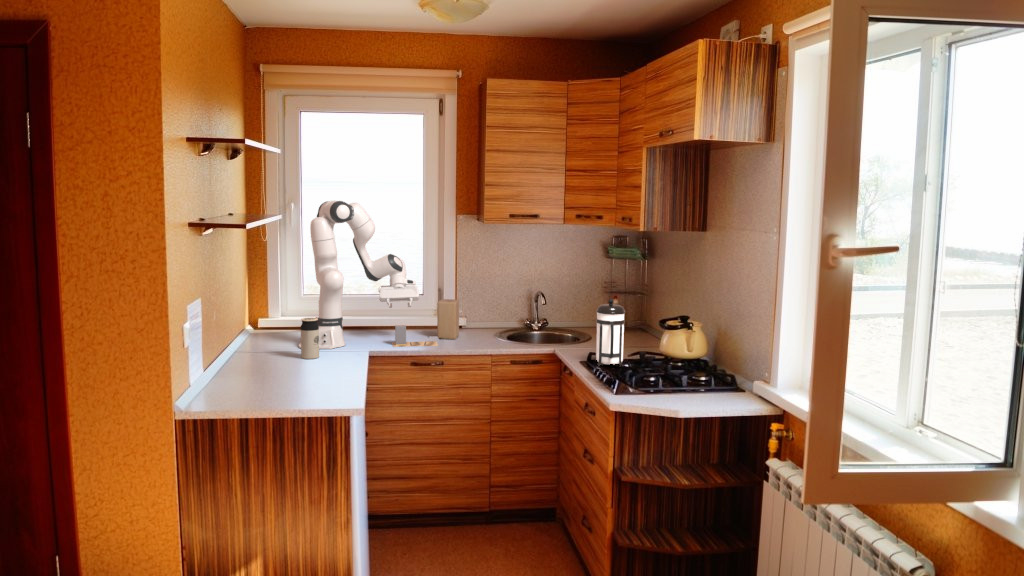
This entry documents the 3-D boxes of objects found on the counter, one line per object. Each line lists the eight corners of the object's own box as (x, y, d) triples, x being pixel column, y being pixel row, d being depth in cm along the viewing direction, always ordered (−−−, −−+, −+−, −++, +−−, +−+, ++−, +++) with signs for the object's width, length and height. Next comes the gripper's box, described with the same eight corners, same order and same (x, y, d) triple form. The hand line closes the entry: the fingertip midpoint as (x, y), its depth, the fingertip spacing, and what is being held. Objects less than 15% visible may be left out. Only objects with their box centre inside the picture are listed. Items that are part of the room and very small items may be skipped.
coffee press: (583, 364, 342) (585, 298, 338) (609, 360, 351) (611, 295, 348) (611, 371, 328) (613, 302, 325) (637, 367, 338) (639, 300, 334)
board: (393, 349, 370) (392, 346, 369) (392, 345, 381) (392, 342, 381) (438, 348, 374) (438, 345, 374) (436, 344, 386) (436, 341, 385)
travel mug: (297, 357, 349) (296, 319, 347) (311, 355, 355) (310, 316, 353) (309, 360, 344) (308, 320, 342) (322, 357, 351) (322, 318, 349)
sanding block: (395, 345, 373) (395, 327, 372) (395, 343, 378) (395, 325, 377) (406, 345, 374) (406, 327, 373) (405, 343, 379) (405, 325, 378)
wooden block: (459, 336, 408) (459, 299, 406) (455, 339, 398) (456, 301, 396) (440, 335, 409) (440, 298, 407) (437, 339, 399) (437, 301, 397)
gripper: (378, 282, 390) (379, 303, 382) (418, 280, 394) (420, 302, 386) (378, 289, 395) (379, 311, 387) (417, 288, 399) (419, 309, 391)
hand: (400, 306), depth 387 cm, fingers open, 8 cm apart
